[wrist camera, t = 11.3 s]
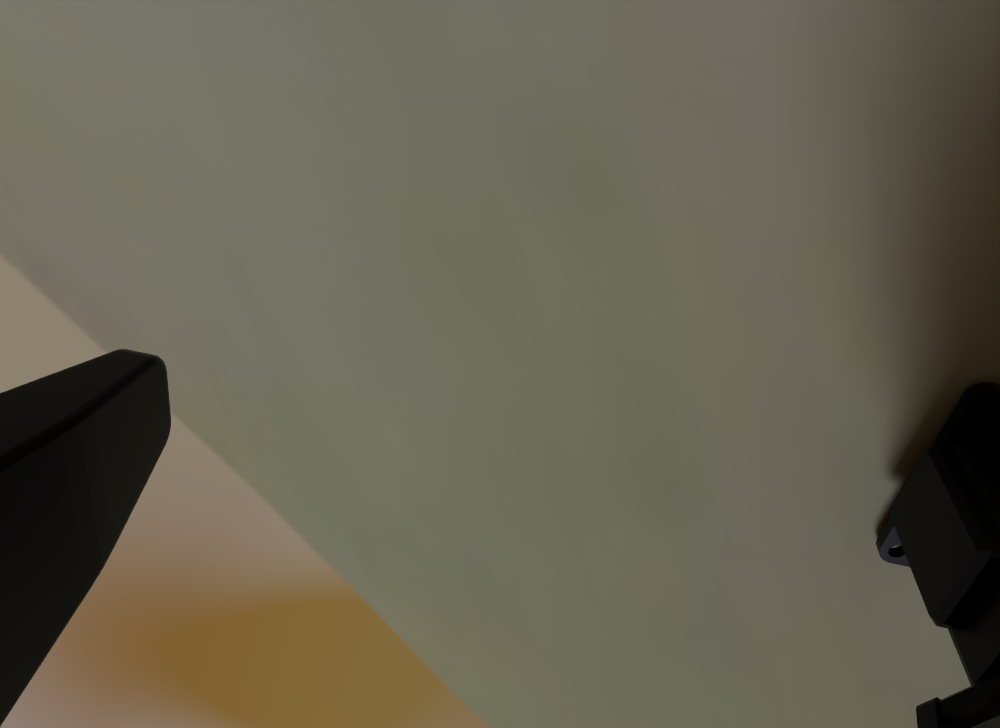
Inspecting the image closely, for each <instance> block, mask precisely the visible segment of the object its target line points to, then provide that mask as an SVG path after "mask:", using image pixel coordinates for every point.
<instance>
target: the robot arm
mask: <svg viewBox="0 0 1000 728" xmlns="http://www.w3.org/2000/svg"><path fill="white" fill-rule="evenodd" d="M985 399H991V401H990V402H989V403H988V404H985V405H983V406H977V405H978V404H979V403H980V402H981V401H982V400H985ZM170 427H171V414H170V403H169V391H168V380H167V371H166V366H165V364H164V361H163V360H162V359H161V358H159V357H158V356H156V355H151V354H147V353H142V352H137V351H132V350H127V349H119V350H116V351H113V352H110V353H108V354H105V355H102V356H100V357H97V358H94V359H92V360H89V361H86V362H84V363H81V364H78V365H75V366H73V367H70V368H67V369H64V370H62V371H59V372H57V373H54V374H51V375H48V376H46V377H43V378H40V379H38V380H35V381H32V382H29V383H27V384H24V385H21V386H19V387H16V388H14V389H11V390H8V391H5V392H2V393H0V726H1V724H2V723H3V722H4V720H5V718H6V717H7V715H8V714H9V712H10V711H11V709H12V708H13V706H14V705H15V703H16V702H17V700H18V699H19V697H20V695H21V694H22V692H23V691H24V689H25V688H26V686H27V685H28V683H29V682H30V680H31V679H32V677H33V676H34V674H35V673H36V671H37V669H38V668H39V666H40V665H41V663H42V662H43V660H44V659H45V657H46V656H47V654H48V653H49V651H50V650H51V648H52V646H53V645H54V643H55V642H56V640H57V639H58V637H59V636H60V634H61V633H62V631H63V630H64V628H65V627H66V625H67V624H68V622H69V620H70V619H71V617H72V616H73V614H74V613H75V611H76V610H77V608H78V607H79V605H80V604H81V602H82V601H83V599H84V598H85V596H86V594H87V593H88V591H89V590H90V588H91V587H92V585H93V583H94V582H95V580H96V578H97V577H98V575H99V574H100V572H101V570H102V569H103V567H104V565H105V563H106V561H107V559H108V558H109V556H110V554H111V552H112V550H113V548H114V547H115V544H116V543H117V540H118V539H119V537H120V535H121V532H122V531H123V529H124V526H125V524H126V523H127V521H128V519H129V517H130V515H131V512H132V510H133V509H134V507H135V505H136V503H137V500H138V499H139V497H140V495H141V492H142V491H143V489H144V487H145V485H146V483H147V481H148V479H149V477H150V475H151V473H152V471H153V469H154V467H155V465H156V462H157V461H158V459H159V457H160V455H161V453H162V451H163V449H164V447H165V445H166V442H167V439H168V436H169V433H170ZM876 545H877V549H878V551H879V554H880V557H881V558H882V559H883V560H884V561H887V562H889V563H893V564H898V565H903V566H908V567H911V570H912V573H913V575H914V578H915V580H916V583H917V585H918V588H919V590H920V593H921V595H922V598H923V600H924V603H925V606H926V608H927V611H928V613H929V616H930V617H931V619H932V620H933V622H934V623H935V625H936V626H939V627H944V628H948V630H949V633H950V635H951V638H952V640H953V642H954V645H955V647H956V650H957V652H958V655H959V657H960V659H961V662H962V664H963V667H964V669H965V672H966V674H967V677H968V679H969V681H970V684H971V686H970V687H968V688H966V689H964V690H962V691H959V692H957V693H955V694H953V695H951V696H948V697H946V698H944V699H942V700H940V699H939V698H937V697H936V698H934V699H931V700H929V701H927V702H925V703H923V704H921V705H918V706H916V714H917V725H918V728H1000V385H999V384H994V383H984V382H983V383H979V384H975V385H973V386H972V387H970V388H968V389H967V390H966V391H965V392H964V394H963V395H962V397H961V398H960V400H959V402H958V403H957V405H956V407H955V408H954V410H953V412H952V414H951V415H950V417H949V419H948V420H947V422H946V424H945V425H944V427H943V429H942V430H941V432H940V434H939V435H938V437H937V439H936V440H935V442H934V444H933V445H932V446H931V447H930V448H928V449H927V450H926V451H925V452H924V454H923V455H922V457H921V459H920V460H919V462H918V464H917V465H916V467H915V469H914V470H913V472H912V474H911V476H910V477H909V479H908V481H907V482H906V484H905V486H904V487H903V489H902V491H901V492H900V494H899V496H898V498H897V499H896V501H895V503H894V504H893V506H892V508H891V509H890V518H889V519H888V521H887V523H886V524H885V526H884V528H883V529H882V531H881V533H880V534H879V536H878V538H877V541H876ZM895 545H900V546H898V547H895V548H891V547H893V546H895Z"/></svg>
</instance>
